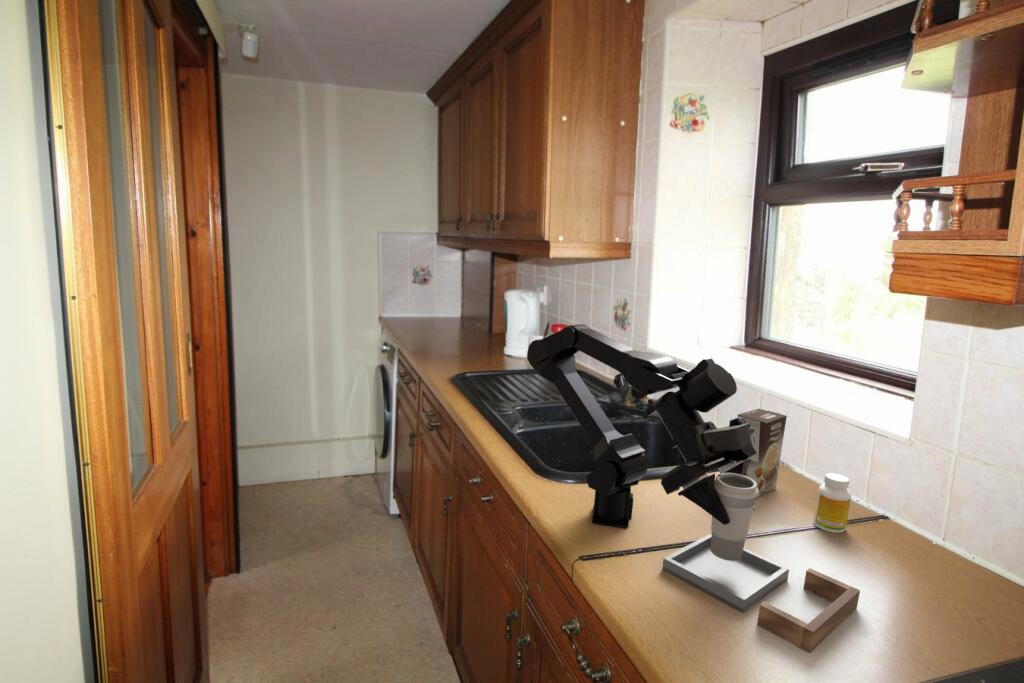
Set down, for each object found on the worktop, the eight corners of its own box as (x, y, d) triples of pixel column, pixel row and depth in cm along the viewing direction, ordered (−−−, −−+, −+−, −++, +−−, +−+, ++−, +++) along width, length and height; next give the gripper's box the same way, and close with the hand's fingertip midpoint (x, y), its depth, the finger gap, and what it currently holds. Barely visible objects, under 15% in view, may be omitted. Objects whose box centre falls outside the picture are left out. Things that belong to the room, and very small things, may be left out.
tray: (662, 569, 99) (663, 558, 99) (709, 543, 108) (710, 533, 107) (742, 612, 89) (744, 599, 89) (787, 580, 98) (789, 568, 98)
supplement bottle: (849, 535, 114) (858, 485, 112) (817, 531, 115) (825, 481, 113) (840, 522, 119) (848, 473, 117) (810, 517, 120) (817, 469, 118)
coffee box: (756, 499, 127) (766, 423, 124) (726, 488, 131) (736, 414, 128) (776, 488, 133) (787, 415, 130) (748, 478, 137) (757, 407, 134)
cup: (714, 536, 103) (723, 467, 100) (755, 552, 99) (766, 480, 96) (696, 553, 97) (705, 480, 95) (738, 570, 93) (750, 494, 91)
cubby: (757, 624, 87) (759, 604, 86) (806, 586, 97) (809, 568, 96) (809, 652, 81) (813, 632, 81) (856, 609, 91) (860, 590, 91)
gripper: (687, 411, 90) (749, 513, 84) (753, 393, 102) (811, 481, 96) (637, 446, 97) (690, 542, 91) (704, 425, 109) (755, 508, 104)
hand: (739, 517), depth 96 cm, fingers closed on cup, 7 cm apart
